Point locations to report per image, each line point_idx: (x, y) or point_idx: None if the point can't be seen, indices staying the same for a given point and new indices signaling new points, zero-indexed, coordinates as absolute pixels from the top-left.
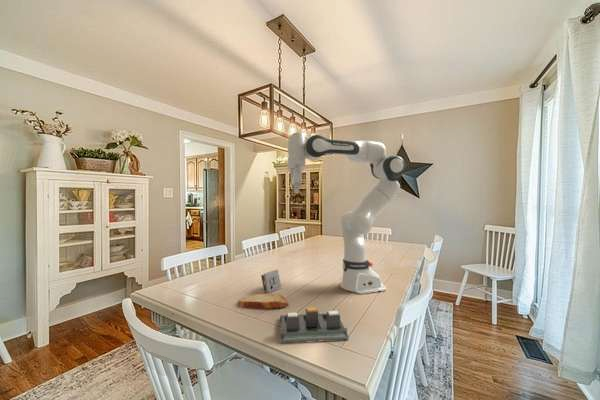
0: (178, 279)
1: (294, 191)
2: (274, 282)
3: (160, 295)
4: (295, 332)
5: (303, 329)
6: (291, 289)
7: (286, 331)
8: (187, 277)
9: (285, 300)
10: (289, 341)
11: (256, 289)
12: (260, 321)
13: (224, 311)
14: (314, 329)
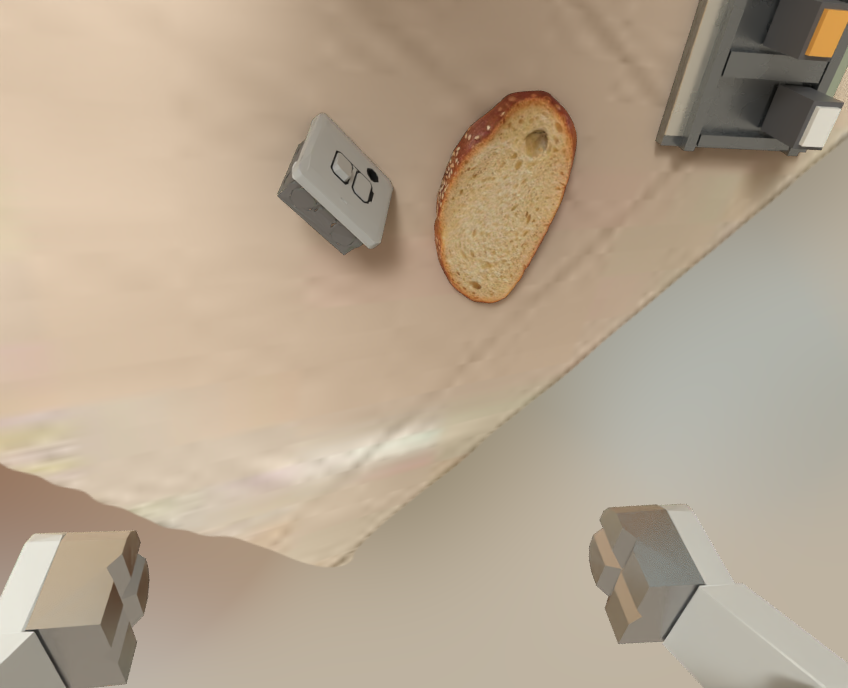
0: (201, 525)
1: (132, 631)
2: (350, 166)
3: (359, 517)
4: None
5: (821, 70)
6: (349, 47)
7: None
8: (173, 509)
9: (524, 107)
10: None
11: None
12: (640, 211)
13: (527, 330)
14: None
